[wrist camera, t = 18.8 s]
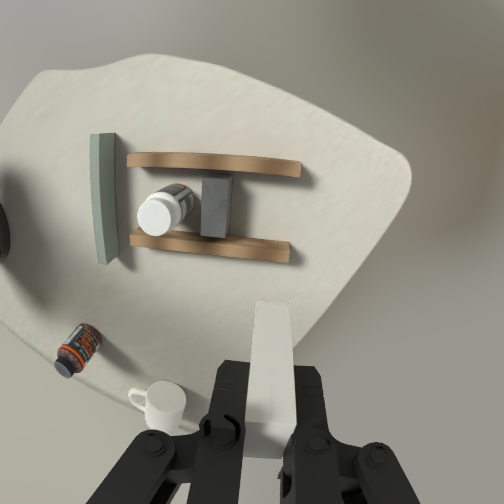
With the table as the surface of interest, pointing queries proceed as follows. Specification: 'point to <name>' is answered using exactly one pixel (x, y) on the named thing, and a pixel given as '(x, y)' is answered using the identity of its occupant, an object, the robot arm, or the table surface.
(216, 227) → the tall gray brick
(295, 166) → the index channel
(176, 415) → the mug
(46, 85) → the table surface
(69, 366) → the supplement bottle
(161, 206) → the pill bottle
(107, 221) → the door edge rail
